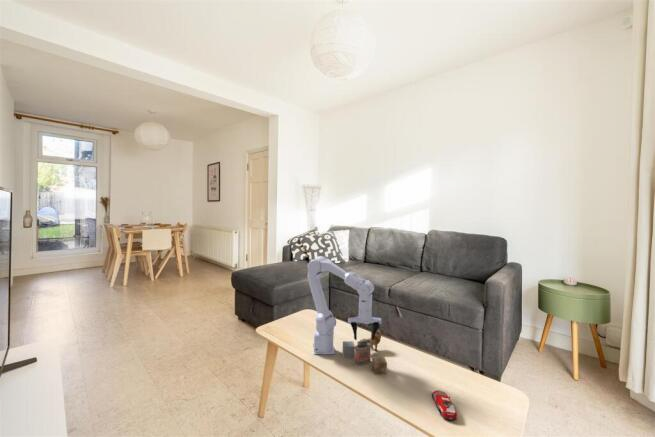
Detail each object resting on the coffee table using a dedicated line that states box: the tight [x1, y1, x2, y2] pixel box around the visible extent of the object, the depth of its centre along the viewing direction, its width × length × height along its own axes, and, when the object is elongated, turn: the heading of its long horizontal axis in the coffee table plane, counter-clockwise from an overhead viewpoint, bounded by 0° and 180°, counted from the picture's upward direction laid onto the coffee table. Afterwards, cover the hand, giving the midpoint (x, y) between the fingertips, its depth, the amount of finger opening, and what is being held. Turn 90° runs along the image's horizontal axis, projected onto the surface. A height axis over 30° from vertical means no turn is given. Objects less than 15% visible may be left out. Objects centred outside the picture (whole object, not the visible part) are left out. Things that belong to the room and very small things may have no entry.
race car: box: [431, 389, 458, 421], centre depth 100 cm, size 13×5×4 cm, turn 176°
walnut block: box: [371, 355, 388, 375], centre depth 121 cm, size 5×5×5 cm
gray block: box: [342, 340, 356, 358], centre depth 133 cm, size 5×5×5 cm
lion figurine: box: [361, 329, 382, 352], centre depth 136 cm, size 15×5×9 cm, turn 129°
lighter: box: [353, 338, 372, 366], centre depth 127 cm, size 8×3×10 cm, turn 117°
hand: (363, 339), depth 127 cm, fingers open, 7 cm apart
